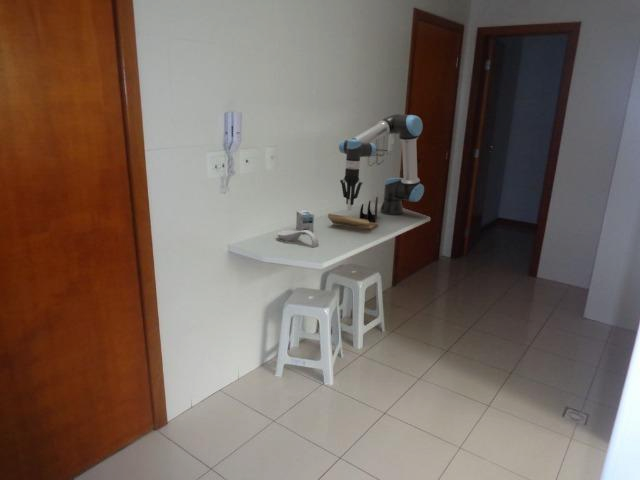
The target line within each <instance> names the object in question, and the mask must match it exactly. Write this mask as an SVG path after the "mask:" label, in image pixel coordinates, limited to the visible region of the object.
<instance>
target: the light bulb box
mask: <svg viewBox="0 0 640 480" xmlns="http://www.w3.org/2000/svg"><path fill="white" fill-rule="evenodd" d="M314 219H315V215H314V213H313V212H310V210H308V209H307V210H305V209H304V210H303V209H299V210H298V209H297V210H296V221H295V224H296V225H295V228H296V231H302V230H309V231H311V232H312V233H313V234H314V225H315V224H314V223H315V220H314ZM303 234H305V233H303ZM303 234H302V235H303Z"/></svg>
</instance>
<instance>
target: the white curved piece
mask: <svg viewBox="0 0 640 480" xmlns="http://www.w3.org/2000/svg"><path fill="white" fill-rule="evenodd" d="M303 233H305V234H306V235H307V236H309V237H310V239H311V247H312V248H315V246H316V247H318V246H319V245H320V244H319V240H318V238H317V236H316V234H315V233H314V232H313V233H312V232H311V231H309V230H302V231H298V230H294V229H290V230H288V229H287V230H282V231H279V232H277V233H276V235H277V237H278V238H279V239H281V240H282V241H285V242H294V241H297V239H298V238H300V236H302V235H303Z"/></svg>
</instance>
